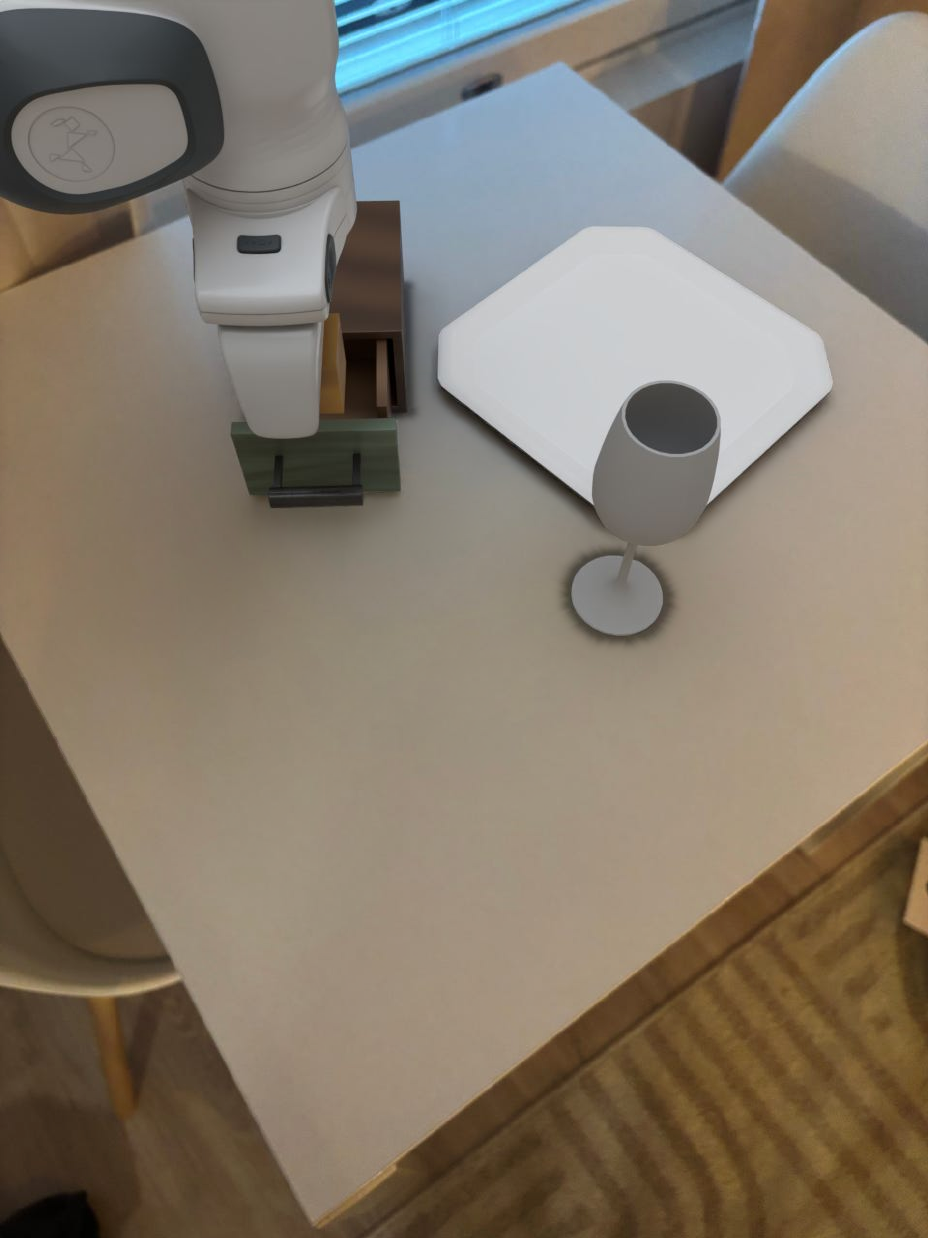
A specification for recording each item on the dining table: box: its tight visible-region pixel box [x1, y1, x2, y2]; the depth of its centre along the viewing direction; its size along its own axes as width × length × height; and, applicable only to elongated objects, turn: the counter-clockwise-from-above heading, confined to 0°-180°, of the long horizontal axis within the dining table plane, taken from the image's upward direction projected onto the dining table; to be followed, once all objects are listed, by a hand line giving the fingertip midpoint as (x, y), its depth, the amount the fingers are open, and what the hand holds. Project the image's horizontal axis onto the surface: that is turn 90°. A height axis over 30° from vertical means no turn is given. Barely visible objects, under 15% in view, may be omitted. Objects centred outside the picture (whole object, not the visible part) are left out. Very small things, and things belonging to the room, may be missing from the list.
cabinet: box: [329, 199, 408, 414], centre depth 82 cm, size 16×14×10 cm
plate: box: [436, 225, 834, 509], centre depth 84 cm, size 29×29×2 cm
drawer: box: [230, 338, 402, 509], centre depth 76 cm, size 19×12×8 cm, turn 3°
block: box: [319, 313, 346, 414], centre depth 61 cm, size 4×4×4 cm
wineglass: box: [570, 380, 721, 637], centre depth 65 cm, size 8×8×21 cm
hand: (307, 371), depth 62 cm, fingers closed on block, 4 cm apart
